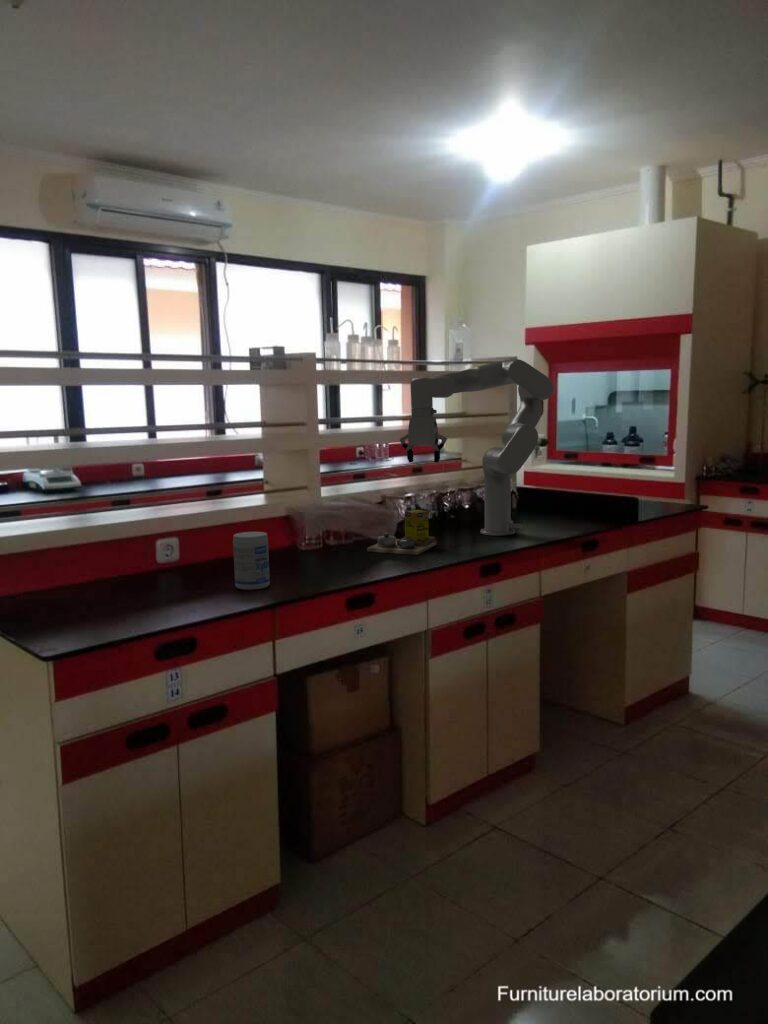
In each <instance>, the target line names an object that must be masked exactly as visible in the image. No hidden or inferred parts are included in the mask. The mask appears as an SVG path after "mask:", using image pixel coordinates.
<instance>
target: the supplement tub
mask: <svg viewBox="0 0 768 1024" xmlns="http://www.w3.org/2000/svg"><path fill="white" fill-rule="evenodd" d="M232 539H233V540H232V546H233V548H232V549H233V550H232V551H233V568H234V584H235V587H236V588H237V589H240V590H242V591H243V590H247V591H254V590H255V591H256V590H261V589H265V588H267V587H269V585H270V583H271V582H270V580H271V579H270V576H271V575H270V560H269V559H270V558H269V557H270V555H269V538H268V533H267V532H264V531H243V532H238V533H235V534H233V537H232Z"/></svg>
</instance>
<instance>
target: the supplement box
mask: <svg viewBox="0 0 768 1024" xmlns="http://www.w3.org/2000/svg"><path fill="white" fill-rule="evenodd" d="M429 531H430V530H429V511H427V510H423V509H422V510H421V509H415V510H408V511H407V510H406V511H404V537H405V539H414V541H425V540H427V539H429V537H430V536H429V535H430V534H429Z"/></svg>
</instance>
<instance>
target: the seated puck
mask: <svg viewBox="0 0 768 1024" xmlns="http://www.w3.org/2000/svg"><path fill="white" fill-rule="evenodd" d="M400 539H401V538H400ZM399 548H400V549H413V548H415V547H414V539H401V540H399Z"/></svg>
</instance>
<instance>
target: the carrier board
mask: <svg viewBox="0 0 768 1024" xmlns="http://www.w3.org/2000/svg"><path fill="white" fill-rule="evenodd" d="M383 534H384V535H381V536H378V537H377V542H376V543H375V544H373V545H370V546H368V547H366V552H370V553H385V554H397V555H398V554H401V555H413V556H415V555H416V556H418V555H421V554H422V553H424V552H425V551H427V550H430V549H431V548H433V547H435V546H436V545H437V540H436V536H429V539H427V540H425V541H414V547H415V548H413V549H400V548H399V540H401V539H405V536H403V537H401V538H397V537H396V536H395V535H390V533H388V532H386V533H383Z"/></svg>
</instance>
